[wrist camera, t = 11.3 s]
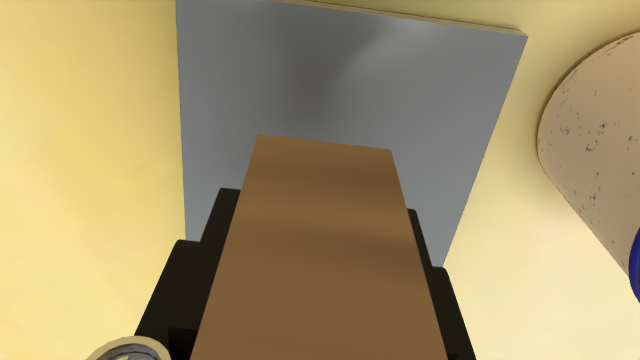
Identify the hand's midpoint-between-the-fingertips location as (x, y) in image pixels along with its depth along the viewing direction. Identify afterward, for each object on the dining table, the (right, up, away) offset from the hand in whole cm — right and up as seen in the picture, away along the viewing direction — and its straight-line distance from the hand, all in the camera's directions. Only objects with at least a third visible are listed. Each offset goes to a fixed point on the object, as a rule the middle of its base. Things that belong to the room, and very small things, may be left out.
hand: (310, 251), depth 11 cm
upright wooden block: (0, -1, +1) cm, 2 cm away
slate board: (0, 0, +13) cm, 13 cm away
